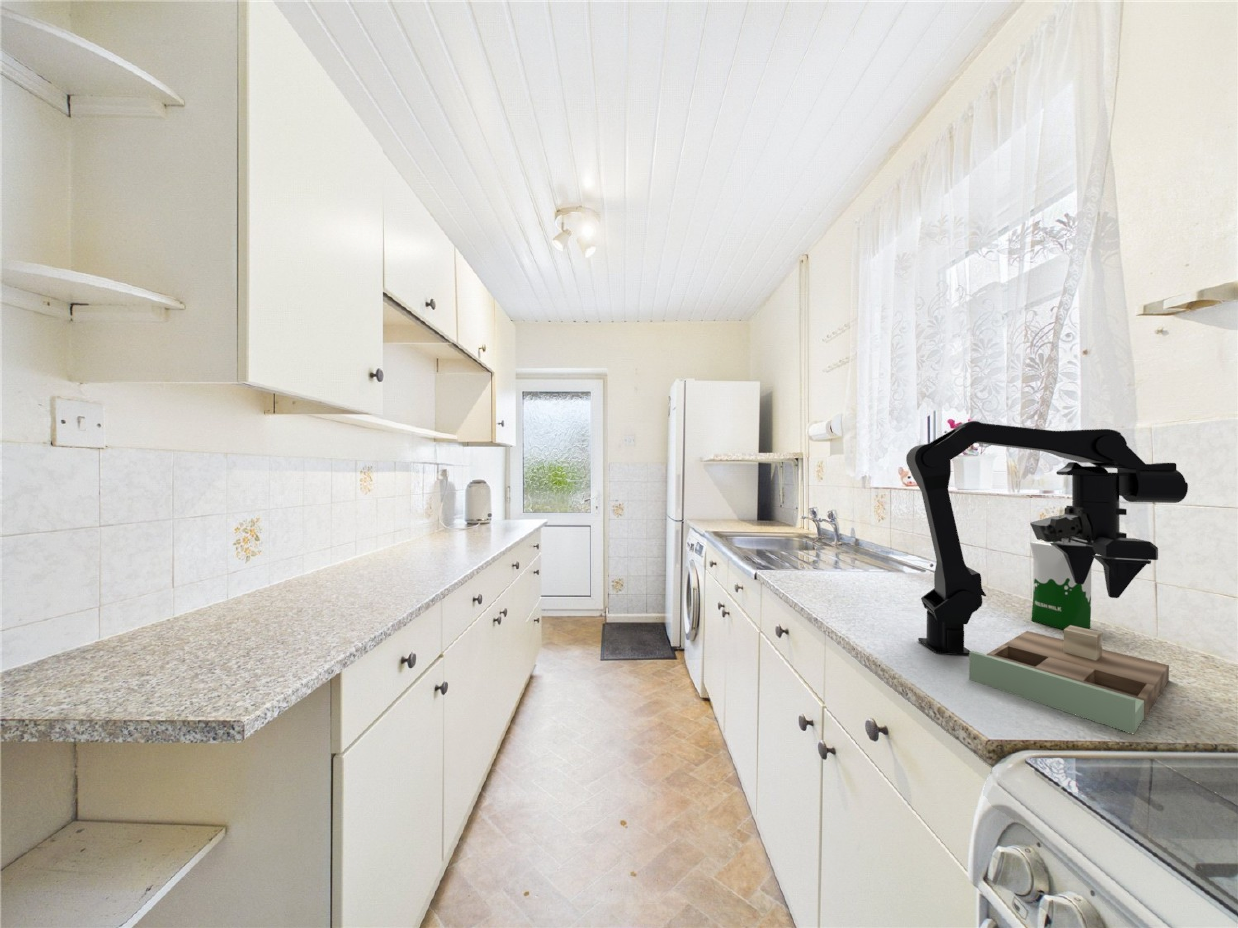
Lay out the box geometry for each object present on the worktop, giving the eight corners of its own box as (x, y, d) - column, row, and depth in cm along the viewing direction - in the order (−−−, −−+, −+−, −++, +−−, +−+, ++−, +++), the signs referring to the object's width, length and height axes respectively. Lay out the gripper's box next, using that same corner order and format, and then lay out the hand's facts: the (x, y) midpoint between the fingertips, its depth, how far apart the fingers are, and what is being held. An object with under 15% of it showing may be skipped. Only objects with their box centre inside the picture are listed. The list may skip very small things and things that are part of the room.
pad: (985, 668, 78) (986, 642, 78) (1143, 718, 63) (1144, 686, 63) (969, 679, 74) (969, 651, 74) (1133, 734, 59) (1133, 700, 59)
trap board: (1026, 643, 90) (1026, 630, 90) (1168, 680, 75) (1168, 665, 75) (985, 668, 78) (985, 654, 78) (1143, 718, 63) (1144, 700, 63)
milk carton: (1098, 629, 98) (1099, 537, 98) (1071, 633, 95) (1072, 538, 95) (1049, 616, 106) (1050, 531, 106) (1023, 619, 104) (1024, 532, 104)
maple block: (1070, 647, 82) (1070, 625, 82) (1101, 655, 78) (1102, 632, 78) (1063, 652, 79) (1063, 629, 79) (1096, 660, 76) (1096, 636, 76)
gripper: (1012, 496, 91) (1013, 574, 91) (1068, 504, 73) (1068, 600, 73) (1084, 498, 87) (1084, 579, 87) (1160, 506, 70) (1161, 608, 70)
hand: (1095, 590), depth 79 cm, fingers open, 9 cm apart
